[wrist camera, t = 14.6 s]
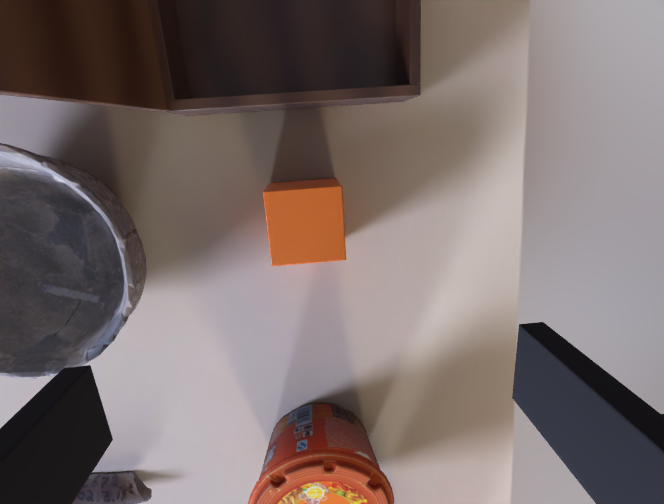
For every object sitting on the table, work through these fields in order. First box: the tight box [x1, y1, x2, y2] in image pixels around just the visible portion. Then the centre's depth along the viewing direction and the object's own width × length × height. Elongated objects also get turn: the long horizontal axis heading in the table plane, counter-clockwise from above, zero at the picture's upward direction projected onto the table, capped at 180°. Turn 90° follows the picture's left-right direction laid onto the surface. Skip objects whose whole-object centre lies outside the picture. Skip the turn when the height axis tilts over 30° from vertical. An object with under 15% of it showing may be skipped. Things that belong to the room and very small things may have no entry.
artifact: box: [72, 472, 151, 504], centre depth 48 cm, size 4×14×2 cm, turn 91°
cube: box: [263, 178, 346, 266], centre depth 37 cm, size 7×7×7 cm
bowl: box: [0, 143, 146, 378], centre depth 35 cm, size 21×21×10 cm
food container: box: [248, 403, 394, 504], centre depth 45 cm, size 16×16×11 cm
